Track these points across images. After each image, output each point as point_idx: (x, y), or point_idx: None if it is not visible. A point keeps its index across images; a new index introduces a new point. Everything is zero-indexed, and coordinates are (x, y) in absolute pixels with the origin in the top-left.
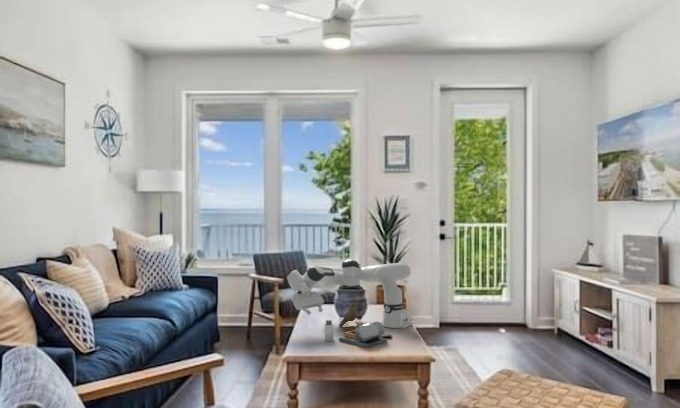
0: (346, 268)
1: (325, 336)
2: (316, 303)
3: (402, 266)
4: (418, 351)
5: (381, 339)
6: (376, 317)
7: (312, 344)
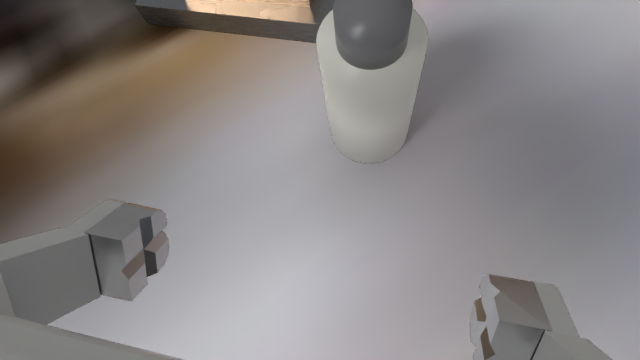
0: None
1: (409, 121)
2: (44, 325)
3: None
4: None
5: None
6: None
7: (580, 159)
